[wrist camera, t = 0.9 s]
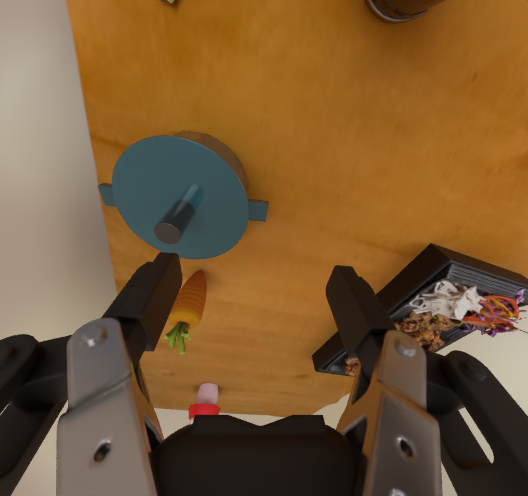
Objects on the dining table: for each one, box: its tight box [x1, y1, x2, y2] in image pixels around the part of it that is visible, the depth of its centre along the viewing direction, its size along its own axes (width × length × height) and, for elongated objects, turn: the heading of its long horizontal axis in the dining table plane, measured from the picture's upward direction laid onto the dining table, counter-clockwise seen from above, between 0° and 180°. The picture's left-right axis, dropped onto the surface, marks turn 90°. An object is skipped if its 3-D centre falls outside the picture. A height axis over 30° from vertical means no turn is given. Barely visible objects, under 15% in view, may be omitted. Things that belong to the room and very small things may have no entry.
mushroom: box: [189, 383, 220, 424], centre depth 69 cm, size 11×11×12 cm
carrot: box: [164, 271, 207, 354], centre depth 32 cm, size 5×5×15 cm
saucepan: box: [98, 131, 268, 222], centre depth 25 cm, size 14×19×7 cm
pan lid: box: [112, 135, 249, 259], centre depth 20 cm, size 15×15×6 cm
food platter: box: [312, 243, 528, 377], centre depth 46 cm, size 45×25×10 cm, turn 160°
